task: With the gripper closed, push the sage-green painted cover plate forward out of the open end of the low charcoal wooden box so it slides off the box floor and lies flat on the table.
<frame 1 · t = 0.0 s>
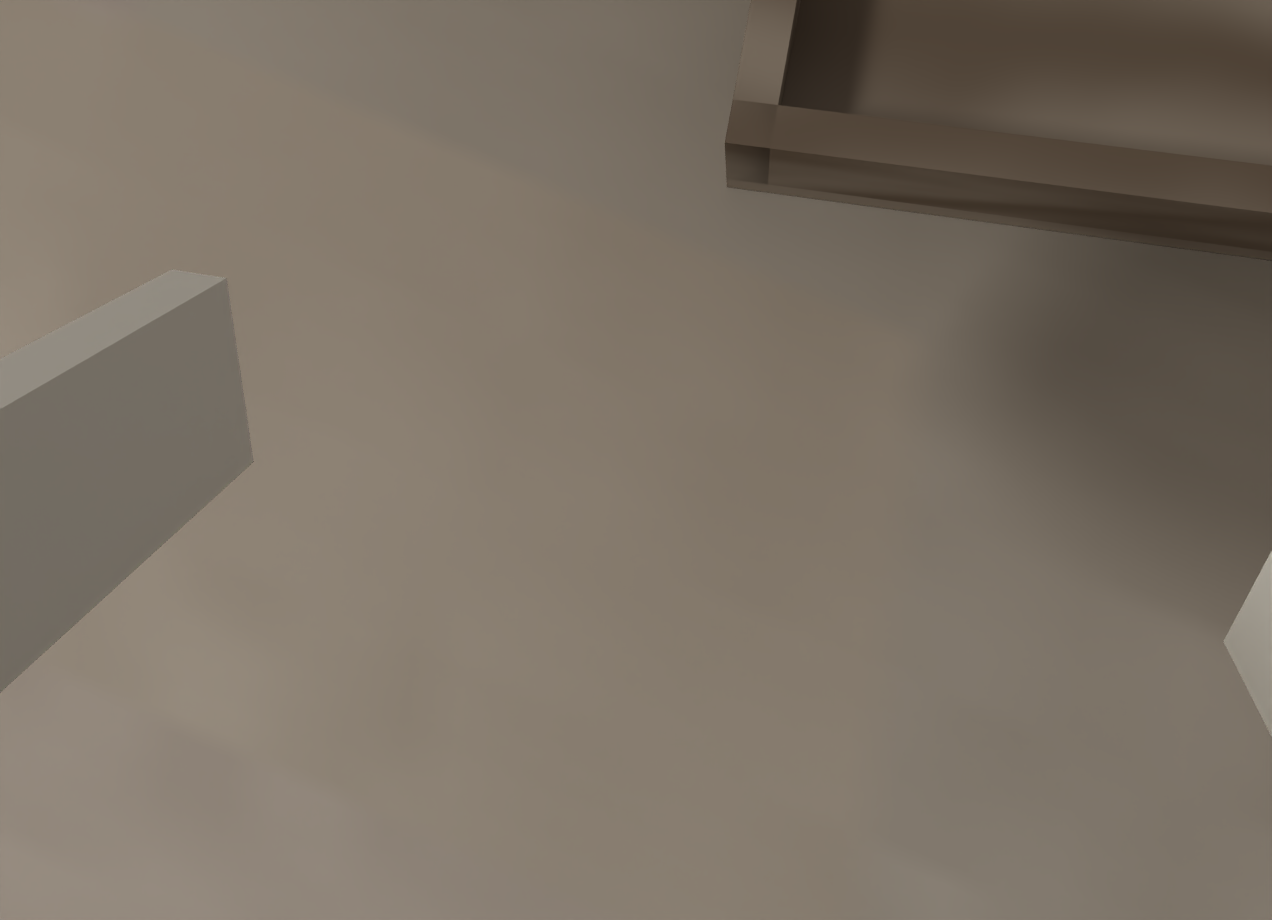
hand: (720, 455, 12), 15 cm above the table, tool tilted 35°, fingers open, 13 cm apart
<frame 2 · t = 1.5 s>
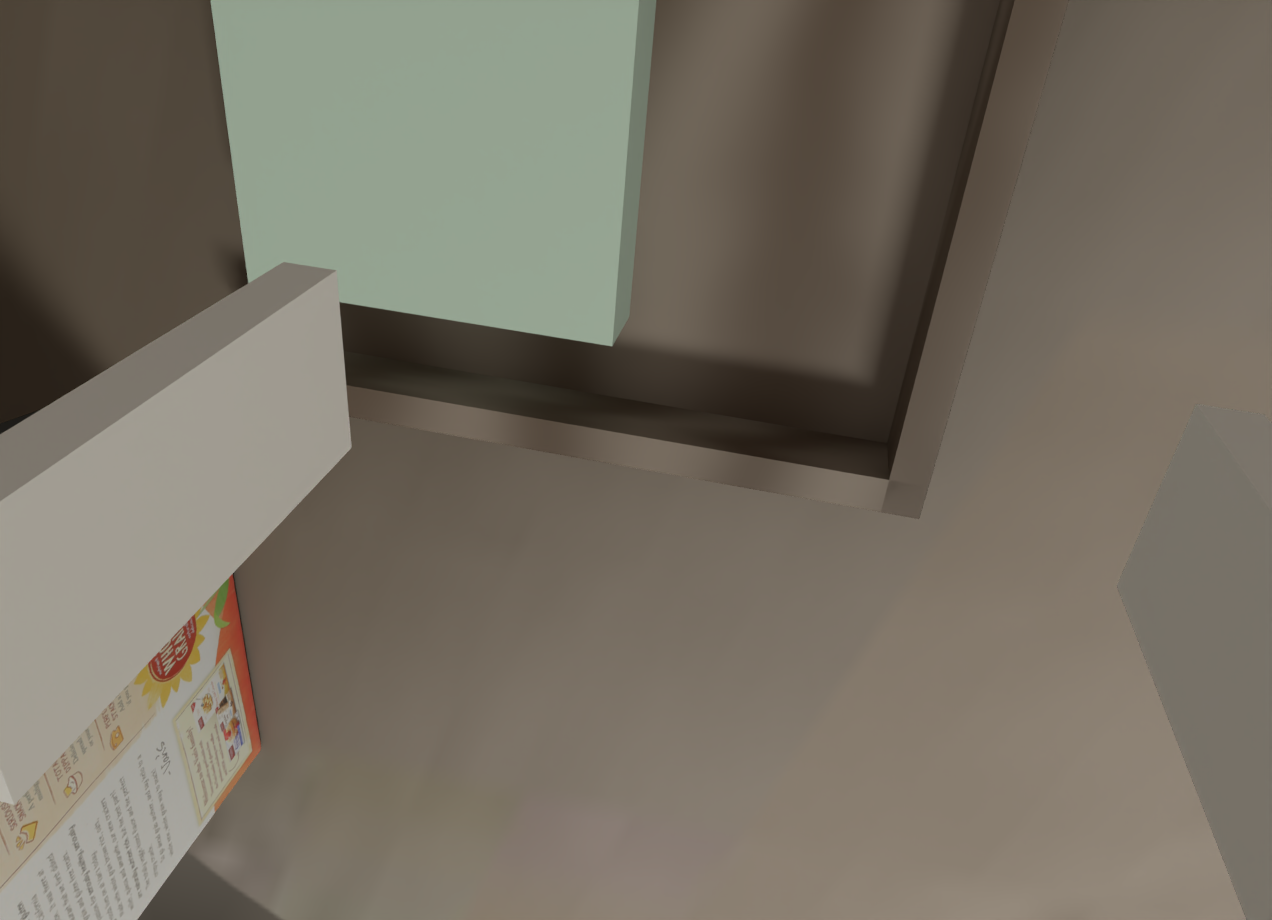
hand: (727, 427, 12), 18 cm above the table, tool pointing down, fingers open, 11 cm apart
slide box: (604, 117, 29), on the table
cover plate: (451, 101, 29), point 1 cm above the table, touching slide box
cracker box: (193, 627, 44), on the table
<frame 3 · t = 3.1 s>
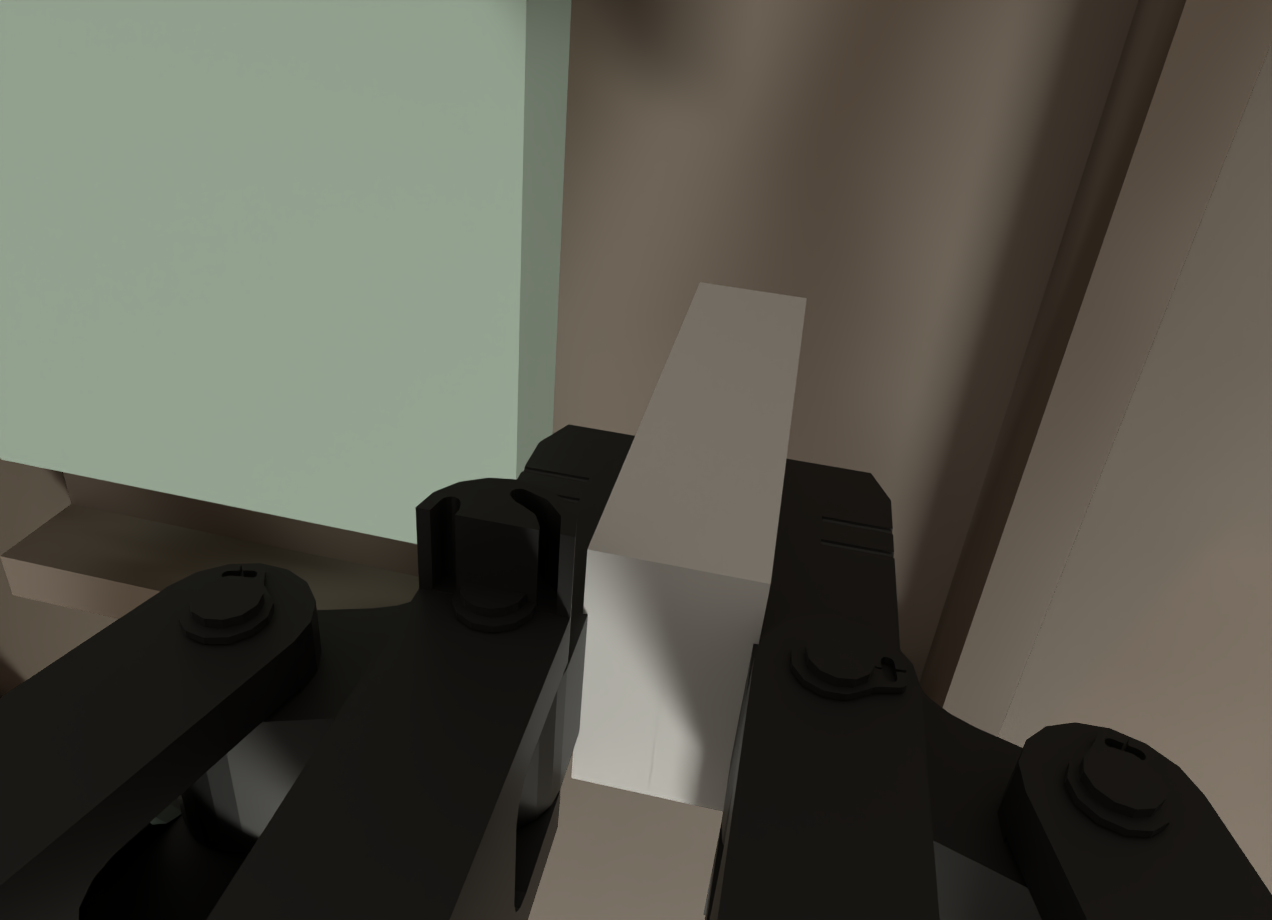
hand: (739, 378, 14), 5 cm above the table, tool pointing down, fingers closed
slide box: (502, 225, 19), on the table
cover plate: (278, 201, 19), point 1 cm above the table, touching slide box
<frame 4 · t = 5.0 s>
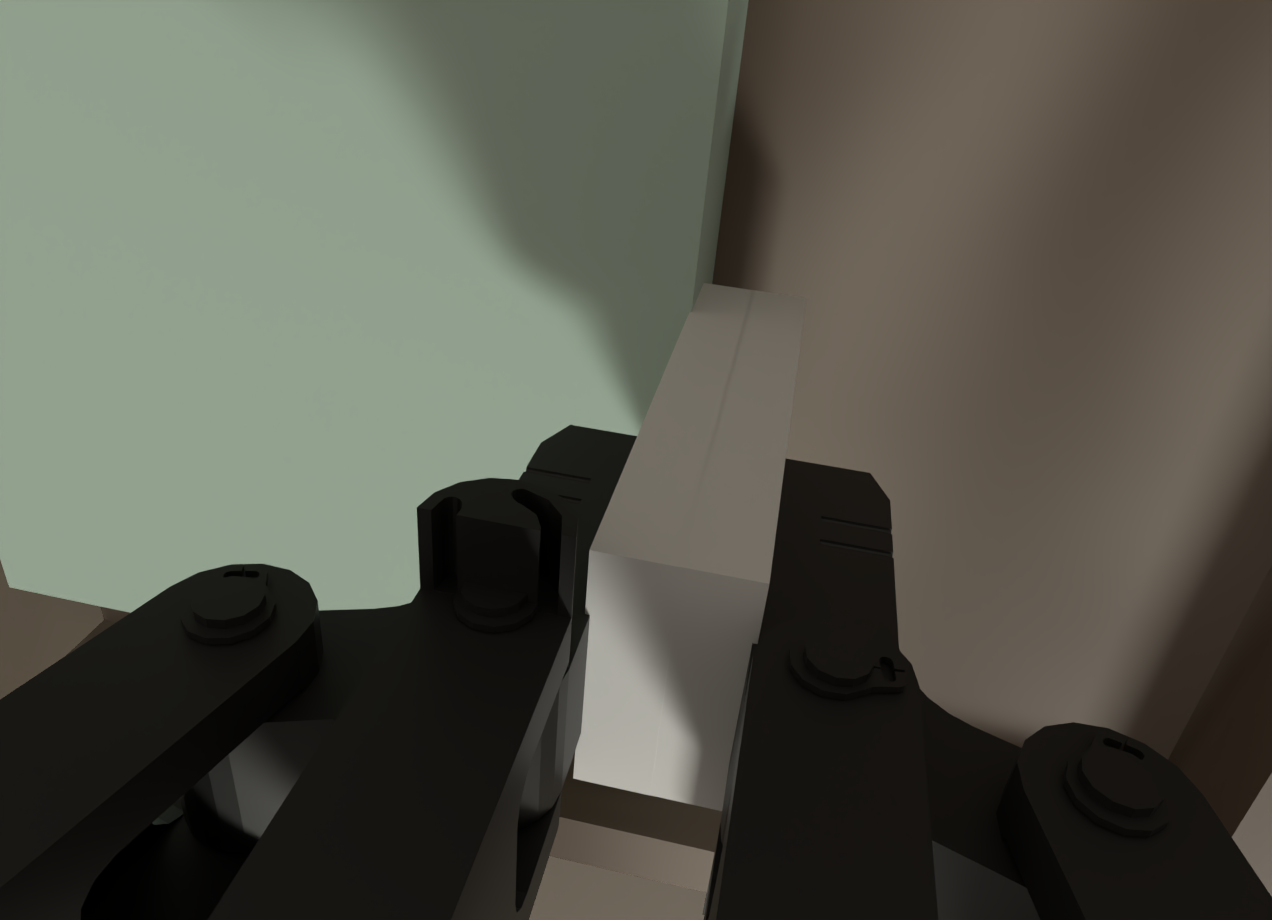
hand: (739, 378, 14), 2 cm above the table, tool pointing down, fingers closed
slide box: (649, 314, 16), on the table
cover plate: (350, 281, 16), point 1 cm above the table, touching gripper, slide box
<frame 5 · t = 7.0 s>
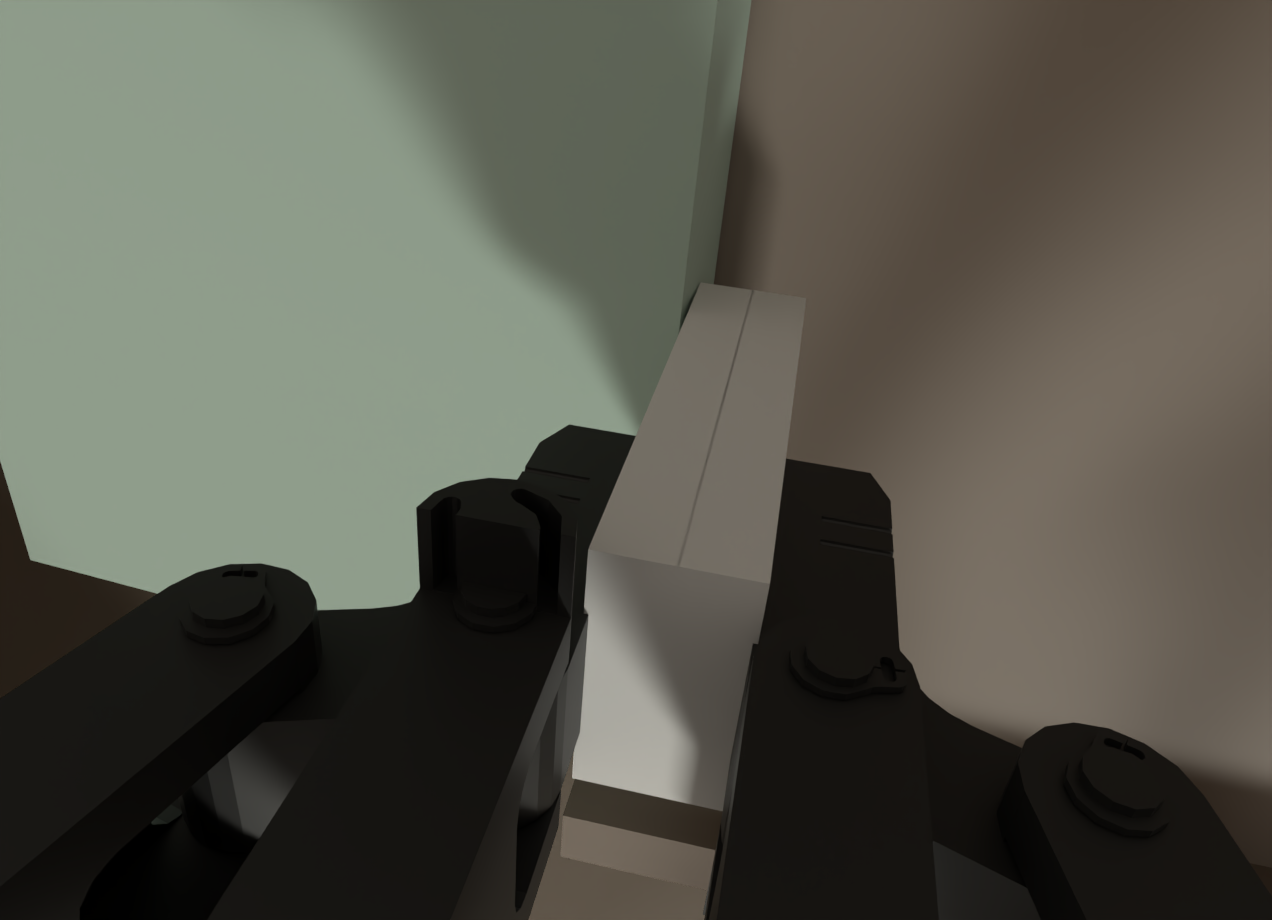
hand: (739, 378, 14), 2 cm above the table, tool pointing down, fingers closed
cover plate: (361, 272, 16), on the table
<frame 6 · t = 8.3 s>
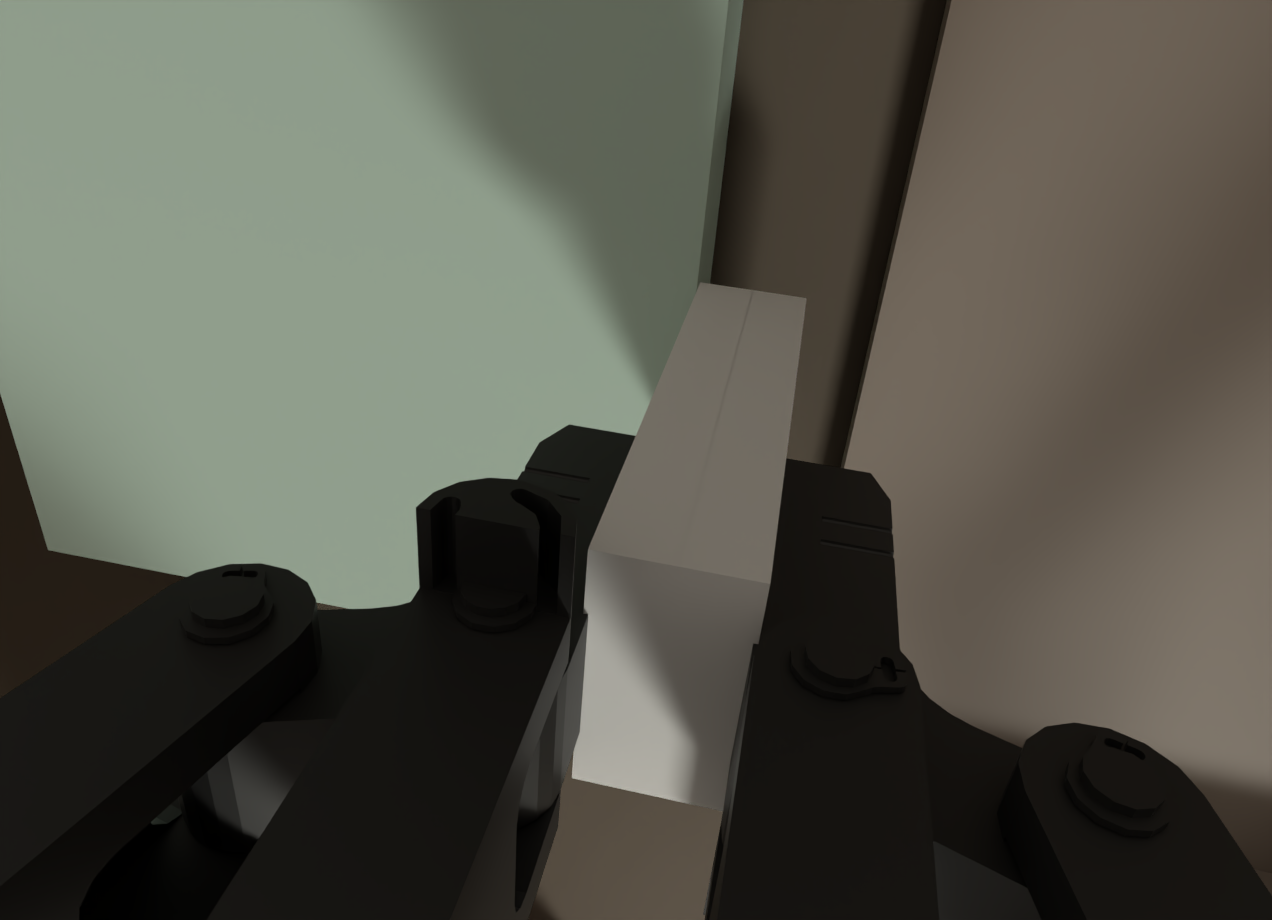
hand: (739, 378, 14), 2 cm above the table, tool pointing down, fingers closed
cover plate: (373, 252, 17), on the table, touching gripper
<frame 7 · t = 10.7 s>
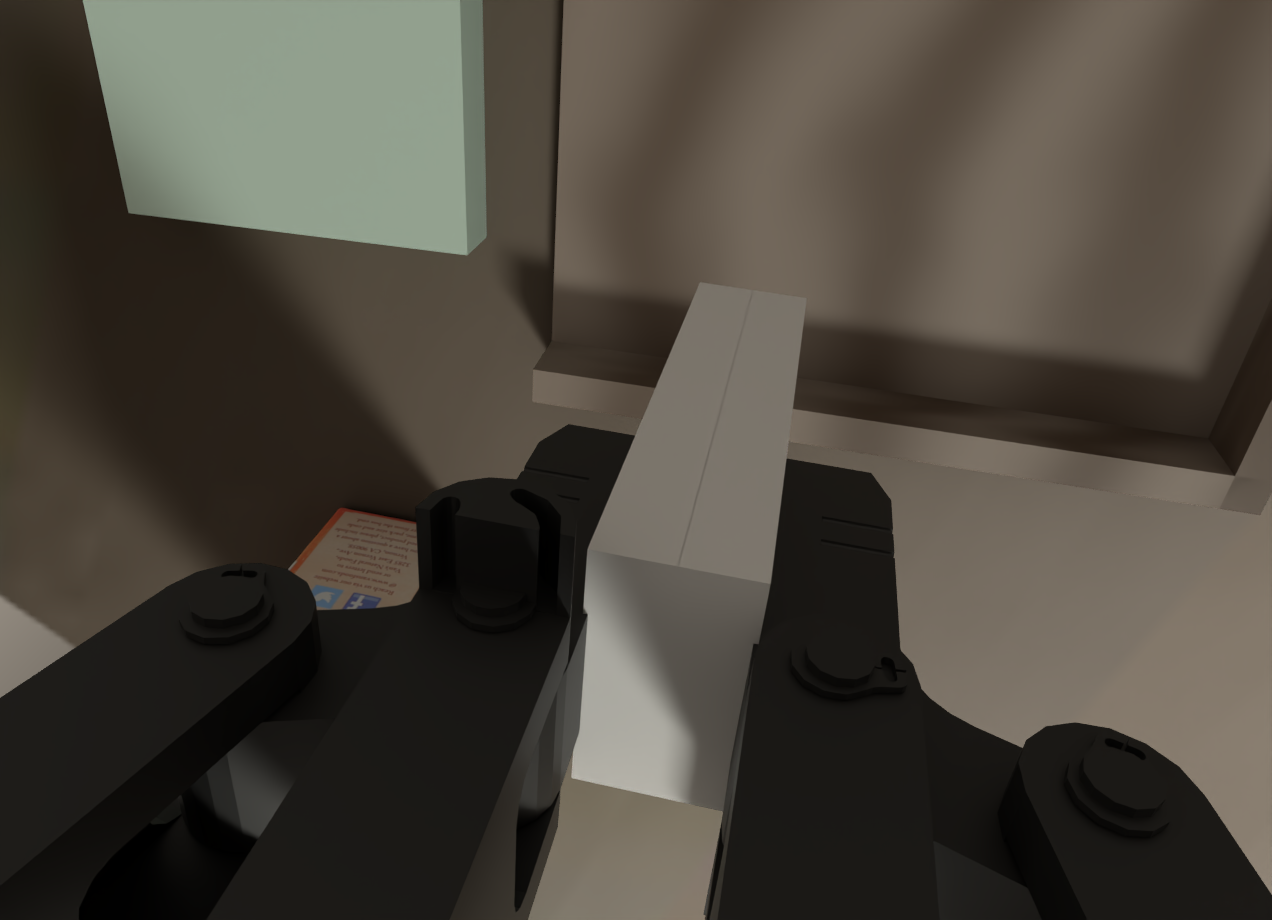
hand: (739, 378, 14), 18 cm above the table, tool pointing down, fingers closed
slide box: (949, 108, 28), on the table
cover plate: (308, 28, 30), on the table
cracker box: (407, 637, 43), on the table
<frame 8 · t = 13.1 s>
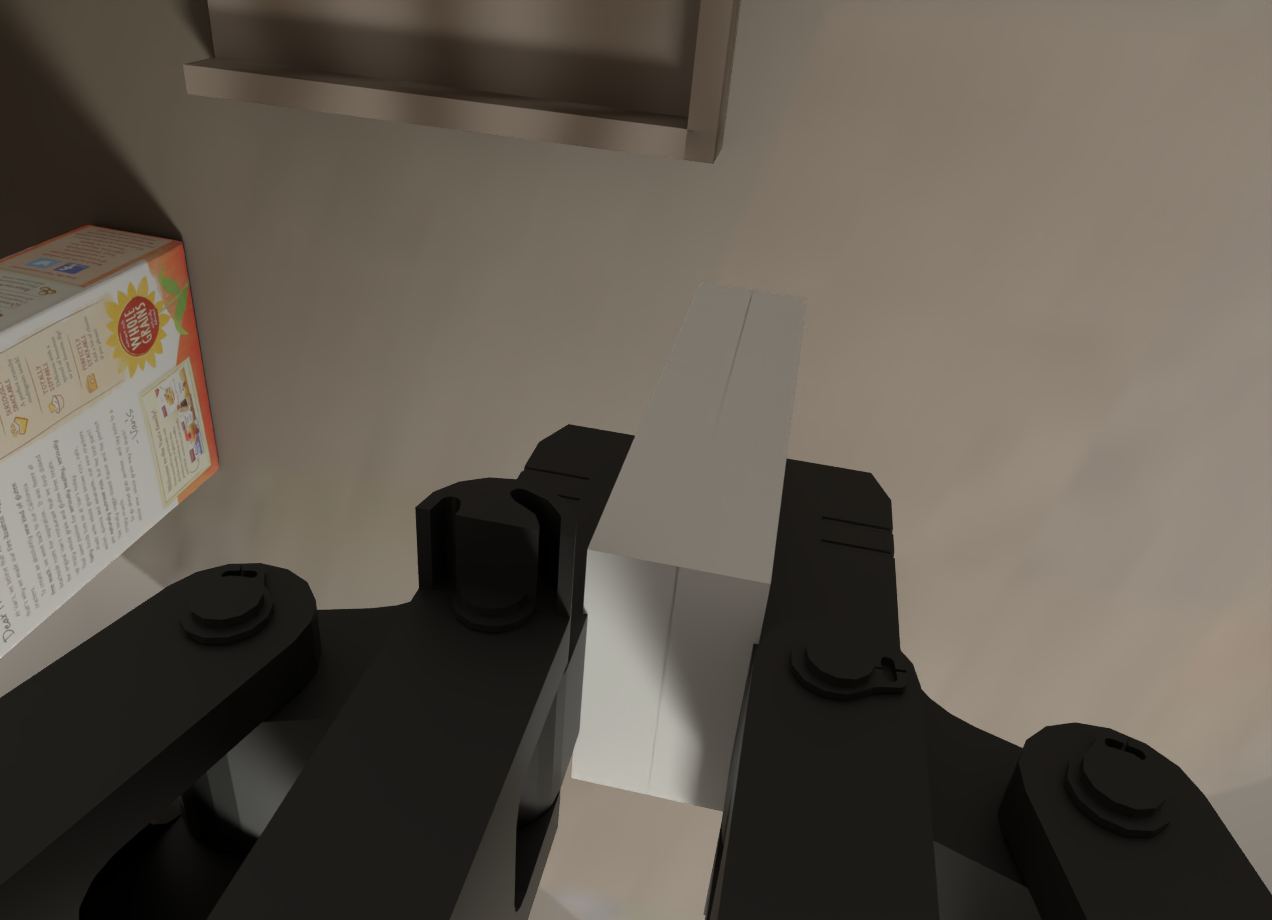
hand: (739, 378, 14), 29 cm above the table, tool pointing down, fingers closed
cracker box: (159, 351, 52), on the table
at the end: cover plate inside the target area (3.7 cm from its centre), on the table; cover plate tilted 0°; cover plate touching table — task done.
